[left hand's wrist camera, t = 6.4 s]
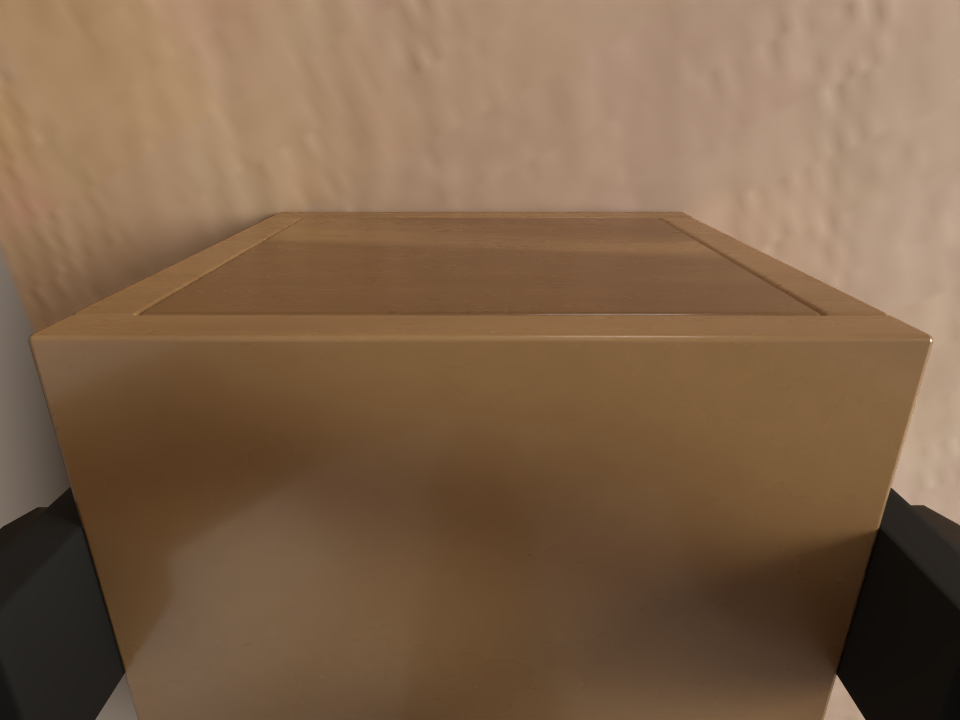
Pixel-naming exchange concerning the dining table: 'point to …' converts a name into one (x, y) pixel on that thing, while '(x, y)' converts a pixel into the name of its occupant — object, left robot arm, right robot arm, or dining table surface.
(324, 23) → the dining table surface
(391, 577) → the cabinet
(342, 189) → the dining table surface
